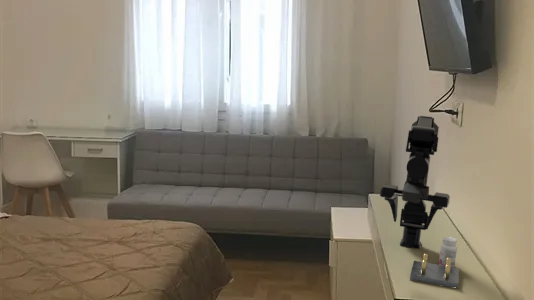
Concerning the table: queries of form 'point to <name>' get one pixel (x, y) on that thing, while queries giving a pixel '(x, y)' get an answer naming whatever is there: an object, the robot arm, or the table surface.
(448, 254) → the pill bottle
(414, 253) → the table surface
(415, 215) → the robot arm
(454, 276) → the grey pegged plate
